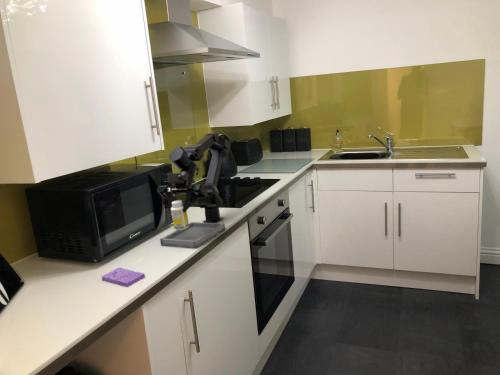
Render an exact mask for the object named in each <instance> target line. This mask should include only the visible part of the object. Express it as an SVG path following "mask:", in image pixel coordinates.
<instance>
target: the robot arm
mask: <svg viewBox="0 0 500 375" xmlns="http://www.w3.org/2000/svg"><path fill="white" fill-rule="evenodd" d="M208 149H209V151H210V153H211V159H210V163H209V168H208V171H207V176H206V180H205V183H204V184H201V183H200V184H198V183H196V181H195V175H196V172H200V169H199V166H198V164H197V163H196V162H201V161H202V160H203V159H204V158H205V152H206V151H208ZM230 149H231V143H230V141H229V140H228V139H227V138H226V137H223V136H221V135H219V134H218V133H216V132H214V133H213V132H210V133H207V134H205V135H204V137H202V138H201V139H200V140H199V141H197V142H196V143H195V144H192V145H188V146H186V147H184V148H183V147H182V145H179V146H178V145H176V146H175V148H174V149H172V150H171V151H170V152H169V154H168V159H169V160H170V161H171V163H172V164H174V166H175V167H176V168H177V169H179V172H178V173H168V175H167V183H168V184H169V183H170V184H172V187H174V188H171V187H170V185H168V184H167V185H159V186H158V187H157V190H156V192H157V193H158V194H159V195H160V196H161V197H162V199H166V200H167V205H168V206H167V207H168V212H169V213H171V208H172V202H173V201H177V200H178V198H177V197H176V196H175V195H185V199H184V202H183V205H184V207H183V212H186V211H188V209H189V208H191V207H192V205H193V204H195V202H197V203H198V206H199V208H200V209H204V216H205V217H204V218H205V220H203V221H202V223H218V222H220V221H222V220H223V219H224V217H223V216H221V212H220V208H222V207H223V202H224V201H223V199H222V198H221V196H220V195H219V194H220V193H219V190H218V188H217V186H218V182H219V179H220V178H219V177H220V174H221V168H222V164H223V161H224V158H225V157H226V156H227V155H228V154H229V151H230Z"/></svg>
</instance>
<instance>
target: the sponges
mask: <svg viewBox="0 0 500 375" xmlns="http://www.w3.org/2000/svg"><path fill="white" fill-rule="evenodd" d="M101 278H102V281H105V282H108V283H113V284H115V285H121V286H123V287H130V286H132V285H134V284H135V283H137V282H138V281H141V280H143V279H144V278H146V274H145V273H144V272H139V271H135V270H132V269H131V270H130V269H128V268H123V267H120V266H119V267H116V268H115V269H113V270H111V271H110V272H108V273H105V274H103V275H101Z"/></svg>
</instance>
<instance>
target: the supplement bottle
mask: <svg viewBox="0 0 500 375" xmlns="http://www.w3.org/2000/svg"><path fill="white" fill-rule="evenodd" d="M183 207H184V201H183V200H182V199H177V201H173V202H172V208H171V212H170V214H171V218H172V224H173V227H174V230H175V231H176V230H183V229H186V228H188V227H189V223H190V222H189V218H188V216H189V215H188V212H187V211H188V210H187V211H186V212H183Z"/></svg>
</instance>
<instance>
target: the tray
mask: <svg viewBox="0 0 500 375" xmlns="http://www.w3.org/2000/svg"><path fill="white" fill-rule="evenodd" d="M224 231H226V225H225V223H218V222H216V223H207V222H200V221H199V222H197V221H194V222H193V221H191V222H189V227H188V228H186V229H183V230H176V229H175V231H173V232H171V233H169V234H167V235H165V236H163V237H162V238H160V239H159V240H160V246H162V247H163V246H164V247H174V248H185V249H186V248H187V249H199V247H201V246H203V245H204V244H206V243H207V242H209V241H210V240H212V239H213V238H215V237H216V236H218V235H219V234H221V233H223V232H224Z"/></svg>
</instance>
